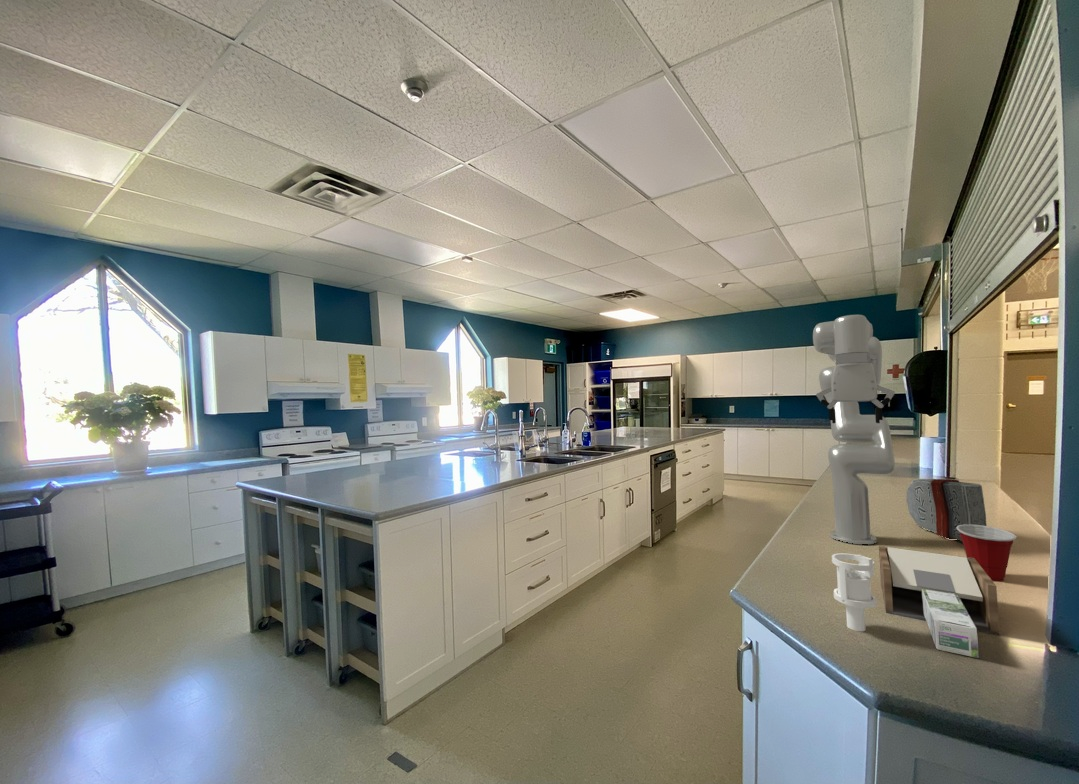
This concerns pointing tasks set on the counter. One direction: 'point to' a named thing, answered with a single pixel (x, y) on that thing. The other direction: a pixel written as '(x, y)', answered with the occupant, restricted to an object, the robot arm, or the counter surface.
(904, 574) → the trapdoor
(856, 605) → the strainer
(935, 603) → the syrup box
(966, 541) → the plastic cup
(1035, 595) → the counter surface
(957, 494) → the decorative stone tablet
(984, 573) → the trapdoor frame
